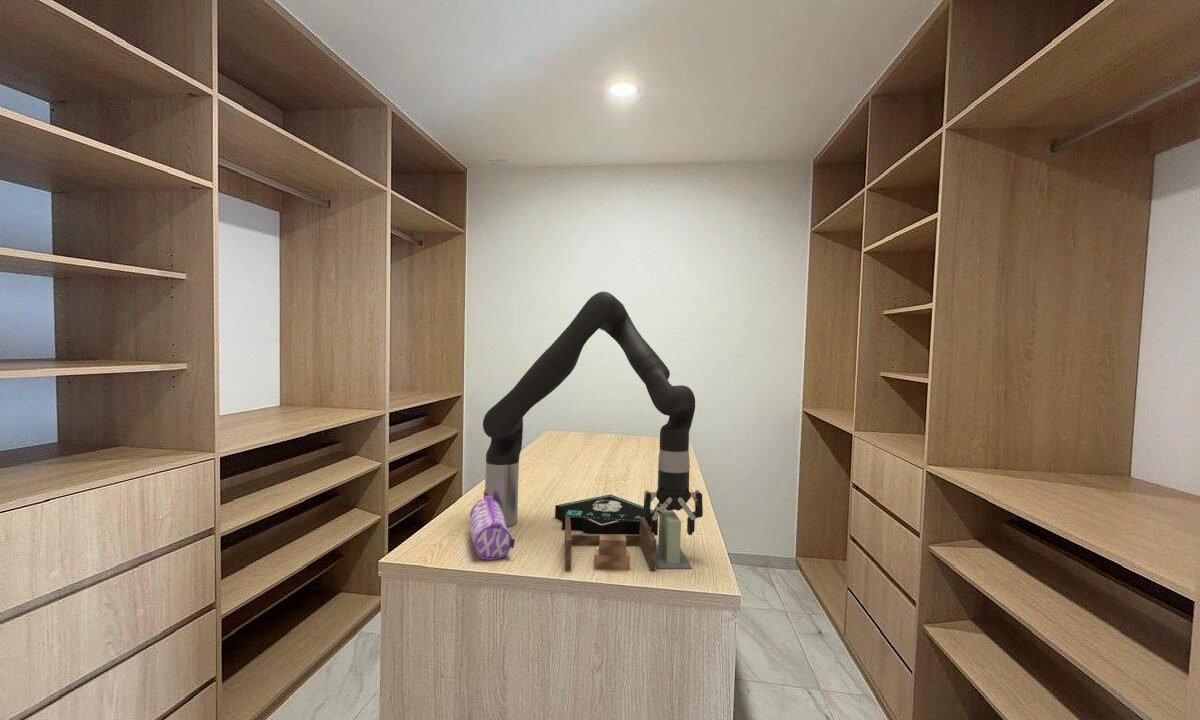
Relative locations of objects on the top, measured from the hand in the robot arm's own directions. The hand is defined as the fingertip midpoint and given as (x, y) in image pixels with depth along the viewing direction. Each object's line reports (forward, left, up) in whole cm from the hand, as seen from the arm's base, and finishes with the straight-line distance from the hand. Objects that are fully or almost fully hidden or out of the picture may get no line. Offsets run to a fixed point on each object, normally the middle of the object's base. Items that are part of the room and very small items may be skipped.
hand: (672, 534), depth 126 cm
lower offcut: (-15, -5, -6) cm, 17 cm away
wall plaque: (-14, +26, -6) cm, 30 cm away
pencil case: (-45, +7, -6) cm, 46 cm away
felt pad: (-1, 0, -5) cm, 6 cm away
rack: (-16, 0, -5) cm, 17 cm away
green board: (-1, 0, -5) cm, 5 cm away
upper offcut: (-15, -6, -2) cm, 16 cm away
